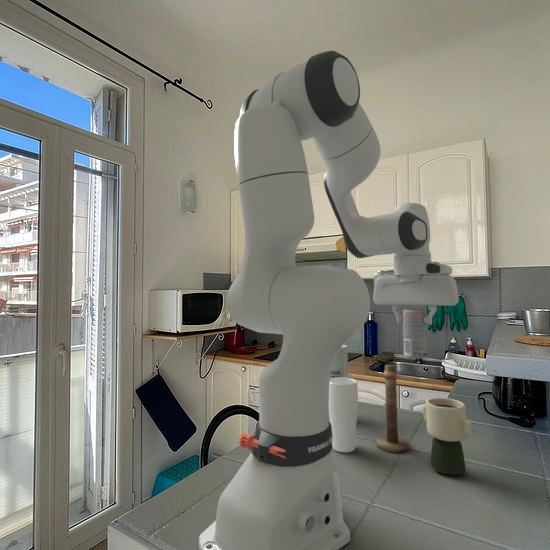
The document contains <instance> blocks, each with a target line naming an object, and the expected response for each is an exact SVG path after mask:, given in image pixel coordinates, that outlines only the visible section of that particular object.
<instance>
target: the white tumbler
mask: <svg viewBox="0 0 550 550" xmlns="http://www.w3.org/2000/svg"><path fill="white" fill-rule="evenodd" d="M358 405H359V387H358V380H357V379H355V378H352V377H348V378H345V377H336V378H331V379H330V382H329V417H330V420H329V422H330V423H331V426H332V432H333V439H332V450H334V451H336V452H339V453H345V454H346V453H347V454H348V453H351V452H354V451H355V450H356V448H357V441H356V439H357V421H358V408H359V407H358Z"/></svg>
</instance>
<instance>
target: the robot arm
mask: <svg viewBox="0 0 550 550" xmlns="http://www.w3.org/2000/svg"><path fill="white" fill-rule="evenodd" d="M356 71H357V70H356V69H355V67H354V65H353V63H352V62H351V61H350V60H349V58H348V57H346V56H345V55H344V54H343V55H342V54H341V53H339V51H338V52H337V51H336V50H327V51H323V52H319V53H318V54H314V55H312V56H311V57H310V58H308V60H305V61H303V62H302V63H299V64H297V65H295V66H292V67H291V68H288V69H287V70H285V71H283V72H280V73H277V75H275V76H274V77H272V78H271V79H269V80H268V81H267V82H266V83H264V84H263V85H262V86H261V87H259V88H258V89H255V90H253V91H252V92H251V93H250V94H249V95H248V96H247V97H246V98H245V100H244V101H243V103H242V104H241V107H240V110H239V117H238V119H237V120H236V122H235V127H234V161H235V162H234V163H235V171H236V178H237V179H236V180H237V187H238V191H239V198H240V204H241V212H242V219H243V226H244V251H243V257H242V262H241V266H240V269H239V272H238V274H237V276H236V278H235V280H234V281H232V283H231V285H230V286H229V289H228V292H227V296H226V304H227V305H226V306H227V309H228V310H227V311H228V313H229V315H230V317H231V319H232V320H233V321H234V322H235V323H236V324H237V325H239V326H241V327H243V328H246V329H248V330H252V331H253V332H256V333H260V334H261V333H262V334H272V335H282V336H283V337H282V338H283V339H282V345H281V348H280V353H279V355H278V357H277V359H274V360H273V361H272V362H270V363H268V364H267V365H266V366H265V367H264V368H263V369H262V370H261V373H260V374H259V378H258V405H259V407H258V410H259V411H258V412H259V413H258V414H259V415H258V417H259V419H258V422H257V424H256V427H255V430H254V435H253V434H252V435H251V434H250V433H248V432H243V433H241V434H240V437H239V438H238V445H239V446H240V447H241V448H245V449H247V450H249V451H250V454H249V455H248V457H247V458H246V459H245V460H244V462H243V464H242V465H241V466H240V468H239V469H238V471H237V472H236V474H235V475H234V476H233V477H232V479H231V481H230V482H229V483H228V485H227V486H226V488H225V489H224V490H223V492H222V493H221V494H220V497H219V500H218V503H217V508H216V517H215V520H214V521H213V522H212V523H211V524H210V525H209V526H208V527H206V529H205V530H204V531H202V532H201V534H200V535H199V537H198V550H340V549H341V548H342V547H344V546H346V545H347V544H348V543H350V541H351V531H350V529H349V526H348V525H347V524H346V522H345V521H344V514H343V505H342V495H341V487H340V484H341V483H340V477H339V474H338V471H337V469H336V466H335V464H334V461H333V458H332V454H331V451H332V450H333V447H332V439H333V432H332V426H331V423H330V420H329V382H330V374H331V369H332V366H333V363H334V360H335V358H336V356H337V354H338V352H339V350H340V349H341V347H342V346H343V345H345V344H346V342H347V341H348V340H349V339H350V338H351V337H353V336H355V334H356V333H358V332H359V331H360V330H361V329H362V328H363V326H364V324H365V323H366V322H367V319H368V317H369V313H370V309H371V297H370V292H369V290H368V287H367V286H368V285H367V284H366V282H365V280H364V279H363V277H362V276H361V275H360V273H359V274H358V272H357V271H355V270H354V269H351V268H346V267H345V268H344V267H340V266H333V265H328V264H323V265H322V264H321V265H309V266H306V265H305V266H297V267H296V253H297V250H298V247H299V245H300V243H301V242H302V240H304V239H305V238H306V237H307V236H308V235H309V234H310V232H311V231H312V229H313V227H314V224H315V212H314V206H313V205H314V203H313V198H312V190H311V186H310V185H311V184H310V179H309V170H308V164H307V159H306V156H305V155H306V154H305V151H304V150H305V149H304V147H303V143H302V142H303V141H308V140H310V139H312V141H313V144H314V146H315V147H316V149H317V151H318V152H319V154H320V156H321V158H322V160H323V162H324V164H325V167H326V171H325V173H324V176H323V185H324V187H323V188H324V191H325V193H326V197H327V198H328V202H329V203H330V206H331V208H332V211H333V213H334V215H335V218H336V220H337V223H338V225H339V227H340V229H341V233H342V236H343V241H344V242H343V243H344V244H345V245H344V246H345V247H346V250H347V251H348V252H349V253H350V254H351V255H353V256H354V257H355V258H357V259H363V258H364V259H365V258H370V257H374V256H383V255H392V254H393V269H388V270H378V272H376V273H375V274H374V275H373V284H374V287H373V302H374V304H375V305H376V306H381V305H382V306H391V310H392V312H393V314H394V315H395V317H396V323H397V324H403V315H402V314H401V312H400V310H401V306H427V308H428V311H429V313H428V315H427V316H425V317H424V324H426V325H432V324H433V317H434V316H435V314H436V312H437V310H438V309H437V306H438V307H439V306H440V307H441V306H443V307H444V306H449V307H451V306H452V307H454V306H456V305H457V304H458V303H459V298H460V297H459V291H458V286H457V285H458V284H457V281H456V279H455V277H453V276H452V274H453V268H452V266H450V265H447V264H443V263H440V262H437V261H432V253H431V251H430V242H431V230H430V227H431V226H430V220H429V216H428V210H427V208H426V206H425V205H423V204H420V203H416V202H415V203H414V202H407V203H406V202H405V203H402V204H400V205H398V206H397V207H395V210H394V211H393V212H390V213H386V214H382V215H374V216H370V217H368V216H362V215H361V214H359V210H358V208H357V205H356V203H355V200H354V196H353V194H352V191H353V190H354V189H356V187H358V186H359V185H361V184H362V183H363V182H365V181H366V180H367V179H368V178H369V177H370V176H371V175H372V173H373V172H374V170H375V169H376V168H377V166H378V163H379V160H380V159H381V158H380V157H381V145H380V140H379V138H378V135H377V133H376V131H375V128H374V126H373V125H372V122H371V120H370V118H369V116H368V115H367V113H366V111H365V109H364V107H362V105H361V104H360V98H361V87H360V86H361V85H360V81H359V77H358V73H357V72H356Z"/></svg>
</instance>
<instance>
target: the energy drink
mask: <svg viewBox="0 0 550 550" xmlns="http://www.w3.org/2000/svg"><path fill="white" fill-rule="evenodd" d="M402 316H403V323H402V333H403V335H402V338H403V339H402V340H403V356H404V358H407V359H413V360H422V359H427V357H428V354H427V353H428V352H427V351H428V349H427V348H428V347H427V346H428V345H427V324H424V317H426V311H425V309H424V308H403V310H402Z"/></svg>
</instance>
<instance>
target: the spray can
mask: <svg viewBox="0 0 550 550" xmlns="http://www.w3.org/2000/svg"><path fill="white" fill-rule="evenodd" d="M348 350H349V347H348V345H347V344H346V345H345V344H343V346H342V347H341V349H340V350H339V352H338V354H337V356H336V358H335V360H334V363H333V366H332V369H331V374H330V379H331V378H336V377H345V378H349V365H348V364H349V357H348V356H349V355H348V353H349V351H348ZM329 421H330V417H329Z"/></svg>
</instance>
